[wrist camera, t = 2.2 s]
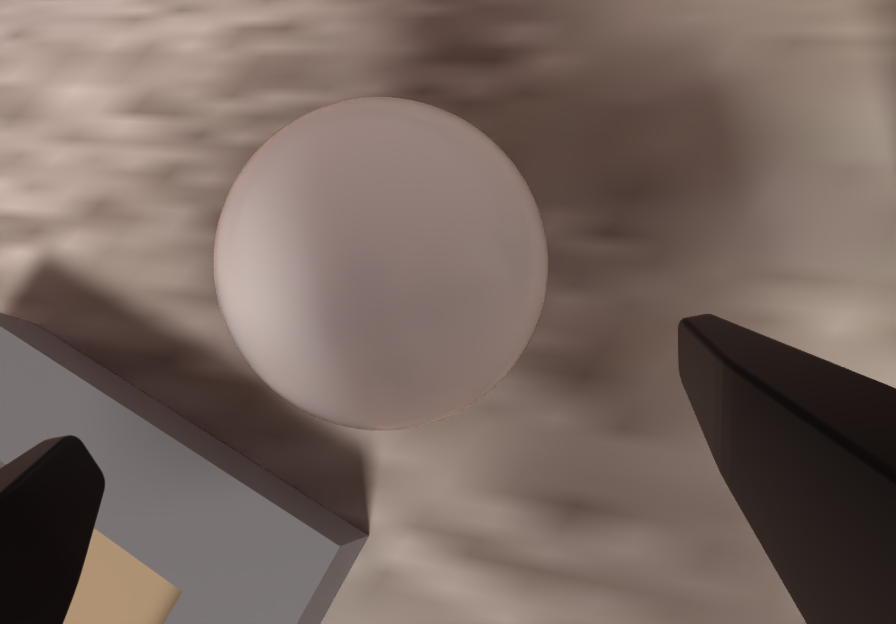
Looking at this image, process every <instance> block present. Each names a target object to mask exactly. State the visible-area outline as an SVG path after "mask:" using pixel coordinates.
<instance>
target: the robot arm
mask: <svg viewBox="0 0 896 624" xmlns="http://www.w3.org/2000/svg"><path fill="white" fill-rule="evenodd" d="M678 361H679V373H680V378H681V381H682V384H683V386H684V389H685V391H686V393H687V396H688V398H689V400H690V403H691V405H692V407H693V410H694V412H695V415H696V417H697V419H698V422H699V424H700V426H701V429H702V431H703V434H704V436H705V438H706V441H707V443H708V445H709V448H710V450H711V452H712V455H713V457H714V459H715V462H716V464H717V466H718V468H719V471H720V473H721V475H722V476H723V478H724V480H725V482H726V484H727V486H728V488H729V489H730V491H731V493H732V495H733V496H734V498H735V500H736V502H737V503H738V505H739V507H740V509H741V510H742V512H743V514H744V516H745V517H746V519H747V521H748V522H749V524H750V526H751V528H752V529H753V531H754V533H755V535H756V536H757V538H758V540H759V542H760V543H761V545H762V547H763V549H764V550H765V552H766V554H767V556H768V557H769V559H770V561H771V562H772V564H773V566H774V568H775V569H776V571H777V573H778V575H779V576H780V578H781V580H782V582H783V583H784V585H785V587H786V589H787V590H788V592H789V594H790V595H791V597H792V599H793V601H794V602H795V604H796V606H797V608H798V609H799V611H800V613H801V615H802V616H803V618H804V620H805V622H806V623H807V624H896V388H894V387H891V386H889V385H886V384H884V383H881V382H879V381H876V380H874V379H871V378H869V377H866V376H864V375H861V374H859V373H856V372H854V371H851V370H849V369H846V368H844V367H841V366H839V365H836V364H834V363H831V362H829V361H826V360H824V359H821V358H819V357H816V356H814V355H811V354H809V353H806V352H804V351H801V350H799V349H796V348H794V347H792V346H789V345H787V344H784V343H782V342H779V341H777V340H774V339H772V338H769V337H767V336H764V335H762V334H759V333H757V332H754V331H752V330H749V329H747V328H744V327H742V326H739V325H737V324H734V323H732V322H729V321H727V320H724V319H722V318H719V317H717V316H714V315H711V314H703V315H698V316H693V317H688V318H684V319H682V320H681V321H680V322H679V325H678ZM104 490H105V478H104V475H103V472H102V471H101V469H100V468H99V466H98V465H97V463H96V462H95V460H94V459H93V457H92V455H91V454H90V452H89V451H88V449H87V448H86V446H85V445H84V443H83V442H82V441H81V440H80V439H79V438H78V437H76V436H73V435H66V436H61V437H55V438H50V439H46V440H44V441H42V442H40V443H39V444H37V445H36V446H34V447H33V448H31V449H29V450H28V451H26V452H25V453H23V454H22V455H20V456H19V457H17V458H16V459H14V460H12V461H11V462H9V463H8V464H6V465H5V466H3V467H2V468H0V624H63V623H64V620H65V617H66V615H67V612H68V610H69V607H70V605H71V602H72V599H73V597H74V594H75V591H76V588H77V585H78V582H79V579H80V576H81V573H82V569H83V566H84V562H85V559H86V555H87V552H88V548H89V544H90V541H91V537H92V534H93V530H94V526H95V523H96V519H97V516H98V512H99V508H100V505H101V501H102V498H103V494H104Z"/></svg>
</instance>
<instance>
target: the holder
mask: <svg viewBox="0 0 896 624" xmlns="http://www.w3.org/2000/svg"><path fill="white" fill-rule="evenodd" d="M66 435H73V436H76V437H78V438H79V439H80V440H81V441H82V442H83V443H84V445H85V446H86V448H87V449H88V451H89V452H90V454H91V455H92V457H93V459H94V460H95V462H96V463H97V465H98V466H99V468H100V469H101V471H102V472H103V475H104V478H105V490H104V494H103V498H102V501H101V505H100V508H99V512H98V516H97V519H96V523H95V526H94V530H93V534H92V537H91V541H90V544H89V548H88V552H87V555H86V559H85V562H84V566H83V569H82V573H81V576H80V579H79V582H78V585H77V588H76V591H75V594H74V597H73V599H72V602H71V605H70V607H69V610H68V612H67V615H66V617H65V620H64V623H63V624H320V623H321V621H322V619H323V617H324V615H325V614H326V612H327V610H328V608H329V606H330V605H331V603H332V601H333V599H334V597H335V596H336V594H337V592H338V590H339V588H340V587H341V585H342V583H343V581H344V579H345V578H346V576H347V574H348V572H349V570H350V569H351V567H352V565H353V563H354V561H355V560H356V558H357V556H358V554H359V552H360V551H361V549H362V547H363V545H364V543H365V542H366V540H367V538H368V536H369V535H367V534H366V533H364V532H363V531H361V530H359V529H358V528H356V527H355V526H353V525H352V524H350V523H348V522H347V521H345V520H344V519H342V518H341V517H339V516H337V515H336V514H334V513H333V512H331V511H330V510H328V509H326V508H325V507H323V506H322V505H320V504H319V503H317V502H315V501H314V500H312V499H311V498H309V497H307V496H306V495H304V494H303V493H301V492H300V491H298V490H296V489H295V488H293V487H292V486H290V485H289V484H287V483H285V482H284V481H282V480H281V479H279V478H278V477H276V476H274V475H273V474H271V473H270V472H268V471H267V470H265V469H263V468H262V467H260V466H259V465H257V464H256V463H254V462H252V461H251V460H249V459H248V458H246V457H245V456H243V455H241V454H240V453H238V452H237V451H235V450H234V449H232V448H230V447H229V446H227V445H226V444H224V443H222V442H221V441H219V440H218V439H216V438H215V437H213V436H211V435H210V434H208V433H207V432H205V431H204V430H202V429H200V428H199V427H197V426H196V425H194V424H193V423H191V422H189V421H188V420H186V419H185V418H183V417H182V416H180V415H178V414H177V413H175V412H174V411H172V410H171V409H169V408H167V407H166V406H164V405H163V404H161V403H160V402H158V401H156V400H155V399H153V398H152V397H150V396H149V395H147V394H145V393H144V392H142V391H141V390H139V389H137V388H136V387H134V386H133V385H131V384H130V383H128V382H126V381H125V380H123V379H122V378H120V377H119V376H117V375H115V374H114V373H112V372H111V371H109V370H108V369H106V368H104V367H103V366H101V365H100V364H98V363H97V362H95V361H93V360H92V359H90V358H89V357H87V356H86V355H84V354H82V353H81V352H79V351H78V350H76V349H75V348H73V347H71V346H70V345H68V344H67V343H65V342H64V341H62V340H60V339H59V338H57V337H56V336H54V335H52V334H51V333H49V332H48V331H46V330H45V329H43V328H41V327H40V326H38V325H37V324H34V323H31V322H28V321H25V320H21V319H18V318H15V317H12V316H9V315H5V314H2V313H0V468H2V467H3V466H5V465H6V464H8V463H9V462H11V461H12V460H14V459H16V458H17V457H19V456H20V455H22V454H23V453H25V452H26V451H28V450H29V449H31V448H33V447H34V446H36V445H37V444H39V443H40V442H42V441H44V440H46V439H50V438H55V437H61V436H66Z"/></svg>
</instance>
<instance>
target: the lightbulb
mask: <svg viewBox="0 0 896 624" xmlns="http://www.w3.org/2000/svg"><path fill="white" fill-rule="evenodd" d="M213 270H214V282H215V289H216V295H217V299H218V304H219V307H220V311H221V314H222V317H223V320H224V322H225V325H226V327H227V330H228V332H229V334H230V336H231V338H232V340H233V342H234V344H235V345H236V347H237V349H238V350H239V352H240V353H241V355H242V356H243V358H244V359H245V361H246V362H247V363H248V365H249V366H250V367H251V368H252V370H253V371H254V372H255V373H256V374H257V375H258V376H259V377H260V379H261V380H262V381H263V382H265V383H266V384H267V385H268V386H269V387H270V388H271V389H272V390H273V391H274V392H276V393H277V394H278V395H279V396H281V397H282V398H283V399H285V400H286V401H288V402H289V403H291V404H292V405H294V406H295V407H297V408H299V409H301V410H303V411H304V412H306V413H308V414H310V415H313V416H315V417H317V418H320V419H322V420H325V421H328V422H331V423H334V424H337V425H341V426H345V427H350V428H356V429H363V430H375V431H389V430H402V429H409V428H415V427H419V426H423V425H427V424H431V423H434V422H437V421H440V420H442V419H445V418H447V417H449V416H452V415H454V414H456V413H458V412H460V411H462V410H464V409H465V408H467V407H469V406H470V405H472V404H473V403H475V402H476V401H478V400H479V399H481V398H482V397H483V396H485V395H486V394H487V393H488V392H490V391H491V390H492V389H493V388H494V387H495V386H496V385H497V384H498V383H499V382H500V381H501V380H502V379H503V378H504V377H505V376H506V375H507V374H508V373H509V371H510V370H511V369H512V368H513V366H514V365H515V364H516V363H517V361H518V360H519V358H520V357H521V355H522V354H523V352H524V350H525V349H526V347H527V345H528V343H529V342H530V339H531V337H532V335H533V333H534V331H535V328H536V326H537V323H538V321H539V318H540V315H541V312H542V308H543V304H544V299H545V294H546V288H547V280H548V249H547V241H546V235H545V230H544V225H543V222H542V218H541V215H540V212H539V209H538V206H537V203H536V201H535V199H534V196H533V194H532V192H531V190H530V188H529V186H528V184H527V183H526V181H525V179H524V178H523V176H522V174H521V173H520V171H519V170H518V168H517V167H516V166H515V164H514V163H513V162H512V161H511V159H510V158H509V157H508V156H507V155H506V153H505V152H504V151H503V150H502V149H501V148H500V147H499V146H498V145H497V144H496V143H495V142H494V141H492V140H491V139H490V138H489V137H488V136H487V135H485V134H484V133H483V132H482V131H480V130H479V129H478V128H476V127H475V126H473V125H472V124H470V123H469V122H467V121H466V120H464V119H462V118H460V117H458V116H456V115H454V114H452V113H450V112H448V111H446V110H444V109H441V108H438V107H436V106H433V105H430V104H426V103H423V102H419V101H415V100H409V99H404V98H396V97H364V98H355V99H349V100H344V101H340V102H336V103H332V104H329V105H326V106H323V107H320V108H318V109H315V110H313V111H311V112H309V113H307V114H304V115H303V116H301V117H299V118H297V119H295V120H294V121H292V122H290V123H289V124H287V125H286V126H284V127H283V128H281V129H280V130H279V131H277V132H276V133H275V134H274V135H273V136H271V137H270V138H269V139H268V140H267V141H266V142H265V143H264V144H263V145H262V146H261V147H260V148H259V149H258V150H257V151H256V152H255V153H254V154H253V155H252V157H251V158H250V159H249V160H248V162H247V163H246V164H245V166H244V167H243V169H242V170H241V171H240V173H239V175H238V176H237V178H236V180H235V181H234V183H233V185H232V187H231V189H230V191H229V193H228V195H227V198H226V200H225V203H224V205H223V208H222V211H221V214H220V218H219V221H218V225H217V230H216V236H215V243H214V255H213Z"/></svg>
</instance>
